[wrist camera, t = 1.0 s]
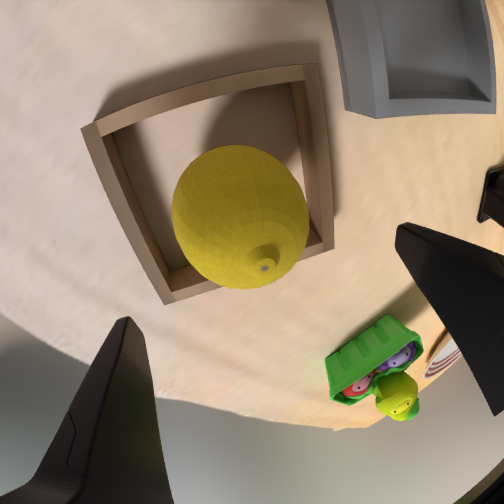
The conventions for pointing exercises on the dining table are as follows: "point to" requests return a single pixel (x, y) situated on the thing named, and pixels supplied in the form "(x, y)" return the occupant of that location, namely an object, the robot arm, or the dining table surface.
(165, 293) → the lemon holder
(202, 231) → the lemon
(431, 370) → the dinner plate
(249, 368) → the dining table surface
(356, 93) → the tray
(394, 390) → the fruit basket
